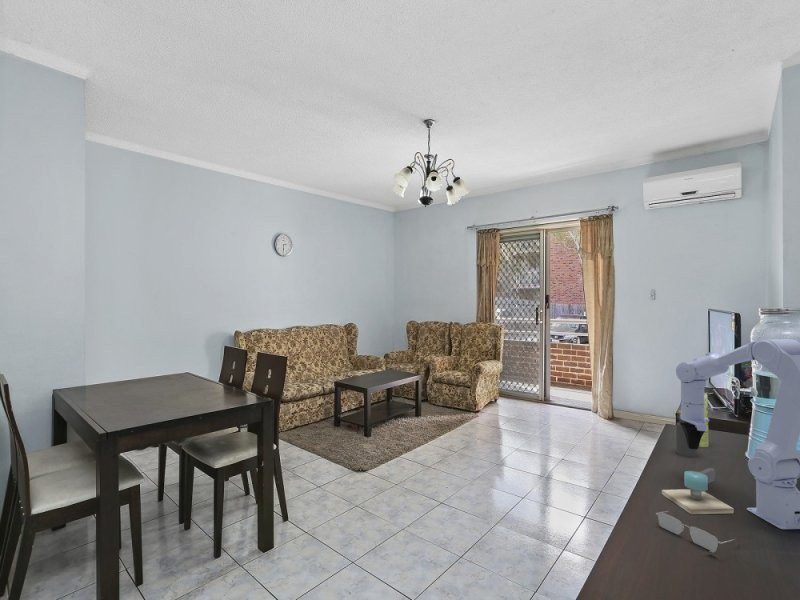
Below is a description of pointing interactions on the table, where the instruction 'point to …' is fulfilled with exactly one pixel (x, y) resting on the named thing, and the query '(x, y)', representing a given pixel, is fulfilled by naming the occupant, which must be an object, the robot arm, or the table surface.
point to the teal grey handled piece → (699, 479)
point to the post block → (697, 502)
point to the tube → (704, 439)
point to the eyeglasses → (696, 533)
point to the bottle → (683, 441)
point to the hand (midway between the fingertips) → (693, 448)
